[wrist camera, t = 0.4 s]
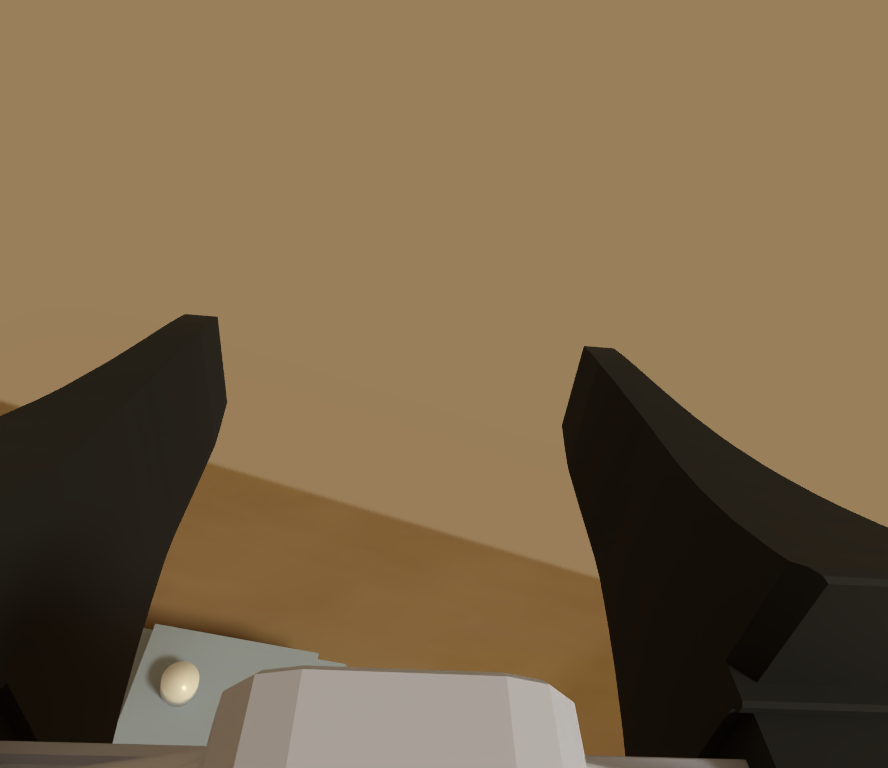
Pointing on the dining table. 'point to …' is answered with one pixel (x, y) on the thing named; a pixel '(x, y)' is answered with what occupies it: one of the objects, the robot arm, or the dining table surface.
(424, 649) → the dining table surface
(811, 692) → the robot arm
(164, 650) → the block
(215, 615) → the dining table surface
